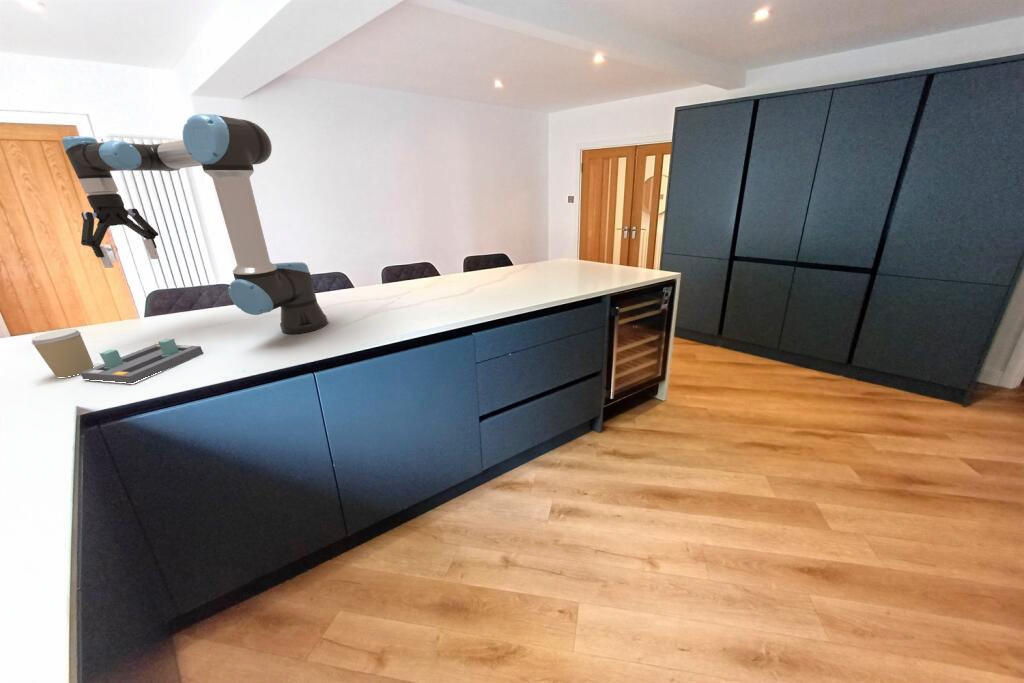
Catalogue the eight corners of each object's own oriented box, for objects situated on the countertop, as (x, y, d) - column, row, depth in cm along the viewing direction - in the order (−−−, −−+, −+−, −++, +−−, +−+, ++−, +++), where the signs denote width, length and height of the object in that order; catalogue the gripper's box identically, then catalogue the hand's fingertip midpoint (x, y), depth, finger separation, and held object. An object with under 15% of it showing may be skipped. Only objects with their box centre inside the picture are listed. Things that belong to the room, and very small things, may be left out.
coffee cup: (74, 366, 117) (53, 329, 112) (106, 363, 117) (87, 327, 113) (42, 381, 108) (18, 342, 104) (77, 378, 109) (56, 339, 104)
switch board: (203, 353, 121) (200, 345, 120) (133, 384, 103) (129, 375, 102) (159, 351, 125) (155, 343, 124) (84, 380, 107) (79, 372, 106)
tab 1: (128, 365, 112) (120, 348, 110) (112, 372, 108) (104, 354, 106) (120, 365, 113) (112, 348, 111) (105, 371, 109) (95, 354, 107)
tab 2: (183, 354, 118) (176, 337, 116) (170, 359, 114) (162, 343, 112) (175, 353, 119) (168, 337, 117) (162, 359, 115) (154, 342, 113)
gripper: (137, 192, 130) (163, 255, 139) (40, 196, 108) (78, 271, 116) (154, 191, 129) (179, 255, 137) (59, 195, 106) (96, 271, 115)
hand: (133, 263), depth 127 cm, fingers open, 13 cm apart
